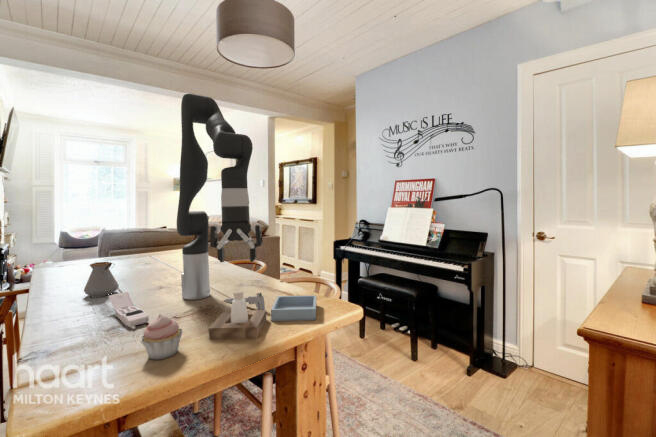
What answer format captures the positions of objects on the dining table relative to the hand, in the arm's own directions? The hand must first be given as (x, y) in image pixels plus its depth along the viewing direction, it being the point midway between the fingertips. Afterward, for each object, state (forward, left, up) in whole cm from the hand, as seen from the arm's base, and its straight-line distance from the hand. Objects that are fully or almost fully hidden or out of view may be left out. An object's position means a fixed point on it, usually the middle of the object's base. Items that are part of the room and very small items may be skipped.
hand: (237, 261), depth 90 cm
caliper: (-4, +20, -20) cm, 29 cm away
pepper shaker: (0, 0, -20) cm, 20 cm away
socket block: (0, 0, -20) cm, 20 cm away
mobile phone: (-39, +11, -20) cm, 45 cm away
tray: (+15, +12, -20) cm, 28 cm away
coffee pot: (-62, +34, -20) cm, 74 cm away
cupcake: (-15, -14, -20) cm, 29 cm away
